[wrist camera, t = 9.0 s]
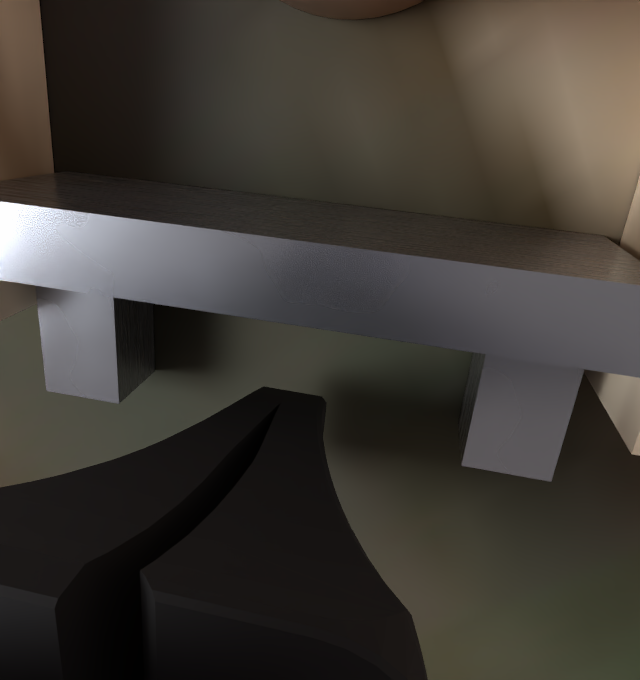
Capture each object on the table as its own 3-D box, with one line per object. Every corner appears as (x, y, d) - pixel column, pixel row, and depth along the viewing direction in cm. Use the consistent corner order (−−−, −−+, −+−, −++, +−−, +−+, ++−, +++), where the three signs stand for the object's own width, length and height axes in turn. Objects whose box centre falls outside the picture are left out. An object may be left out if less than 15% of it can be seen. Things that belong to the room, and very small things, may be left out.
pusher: (546, 437, 12) (588, 558, 8) (81, 358, 13) (-32, 436, 10) (603, 235, 10) (682, 291, 7) (67, 170, 12) (-74, 191, 8)
